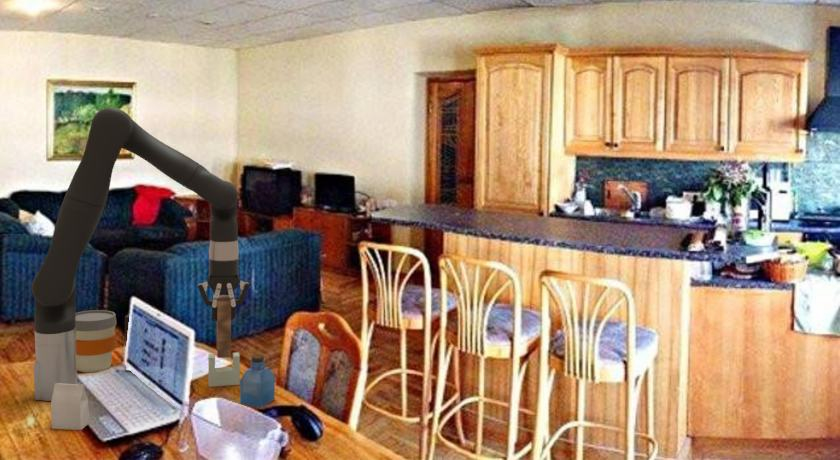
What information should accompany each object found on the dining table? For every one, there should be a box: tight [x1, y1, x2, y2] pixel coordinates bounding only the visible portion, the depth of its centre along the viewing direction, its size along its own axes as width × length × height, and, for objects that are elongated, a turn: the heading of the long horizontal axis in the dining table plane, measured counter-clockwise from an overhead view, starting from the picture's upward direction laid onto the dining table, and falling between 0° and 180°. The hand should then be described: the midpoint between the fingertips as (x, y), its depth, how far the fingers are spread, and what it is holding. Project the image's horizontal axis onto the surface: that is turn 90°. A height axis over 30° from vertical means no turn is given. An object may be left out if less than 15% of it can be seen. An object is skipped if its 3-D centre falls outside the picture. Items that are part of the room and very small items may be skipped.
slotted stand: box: [207, 352, 241, 388], centre depth 196 cm, size 8×3×8 cm, turn 108°
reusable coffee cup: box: [75, 309, 118, 373], centre depth 204 cm, size 13×13×15 cm
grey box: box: [50, 383, 90, 431], centre depth 165 cm, size 4×7×10 cm, turn 88°
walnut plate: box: [216, 294, 232, 359], centre depth 194 cm, size 3×8×15 cm, turn 18°
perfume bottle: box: [239, 353, 276, 408], centre depth 184 cm, size 6×6×12 cm
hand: (223, 319), depth 194 cm, fingers closed on walnut plate, 3 cm apart
